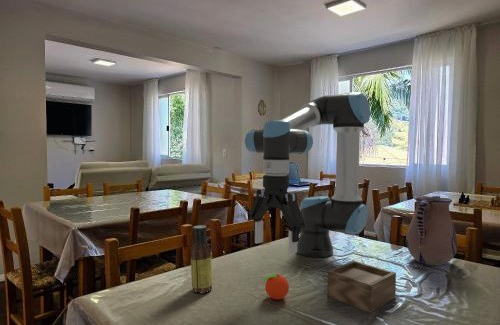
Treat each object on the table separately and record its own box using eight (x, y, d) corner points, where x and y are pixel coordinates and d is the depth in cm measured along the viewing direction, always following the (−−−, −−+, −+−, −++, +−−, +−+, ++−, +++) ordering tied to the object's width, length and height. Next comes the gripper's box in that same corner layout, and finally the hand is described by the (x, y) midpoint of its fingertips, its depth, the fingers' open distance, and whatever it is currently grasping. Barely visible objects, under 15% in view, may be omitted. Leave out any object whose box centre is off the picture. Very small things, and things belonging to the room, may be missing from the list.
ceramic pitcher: (459, 260, 136) (461, 196, 134) (452, 276, 119) (454, 204, 117) (410, 252, 146) (412, 192, 145) (398, 266, 129) (399, 199, 128)
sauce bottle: (215, 287, 109) (215, 225, 108) (206, 295, 103) (206, 229, 102) (196, 284, 111) (196, 223, 110) (187, 292, 105) (186, 228, 104)
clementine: (264, 304, 98) (264, 280, 97) (259, 294, 104) (259, 271, 104) (291, 302, 99) (291, 278, 99) (285, 292, 106) (285, 269, 105)
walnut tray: (327, 295, 104) (327, 271, 103) (353, 283, 113) (353, 260, 112) (370, 312, 93) (371, 285, 93) (395, 297, 102) (395, 272, 102)
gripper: (238, 172, 107) (237, 240, 108) (301, 178, 88) (299, 261, 89) (256, 171, 112) (255, 236, 113) (319, 177, 93) (317, 255, 94)
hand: (275, 247), depth 101 cm, fingers open, 13 cm apart
